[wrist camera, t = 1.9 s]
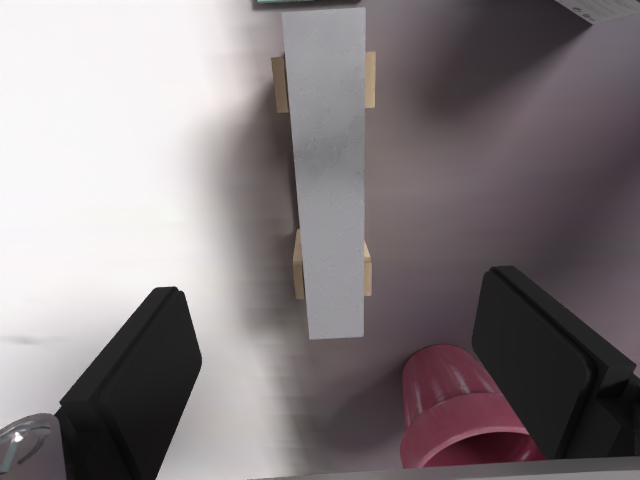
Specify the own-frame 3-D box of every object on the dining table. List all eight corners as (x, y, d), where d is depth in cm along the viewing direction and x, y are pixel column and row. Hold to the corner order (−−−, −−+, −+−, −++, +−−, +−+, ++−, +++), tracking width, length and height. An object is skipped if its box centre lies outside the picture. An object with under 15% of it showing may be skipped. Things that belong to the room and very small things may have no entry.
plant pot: (385, 327, 37) (418, 433, 25) (504, 323, 37) (593, 428, 25) (378, 410, 42) (402, 528, 31) (481, 407, 43) (544, 524, 31)
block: (287, 29, 18) (281, 12, 15) (355, 25, 18) (365, 7, 15) (310, 306, 27) (309, 339, 23) (356, 304, 27) (363, 336, 23)
